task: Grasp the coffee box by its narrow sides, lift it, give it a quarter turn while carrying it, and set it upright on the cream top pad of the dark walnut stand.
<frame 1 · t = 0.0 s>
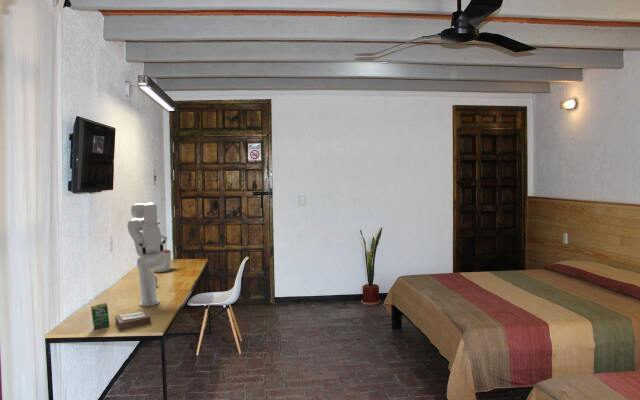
hand: (153, 252, 277), 37 cm above the table, tool pointing down, fingers open, 9 cm apart
canister: (161, 271, 400), on the table
game controller: (152, 289, 339), on the table
stand: (133, 323, 261), on the table
coffee box: (101, 328, 256), on the table
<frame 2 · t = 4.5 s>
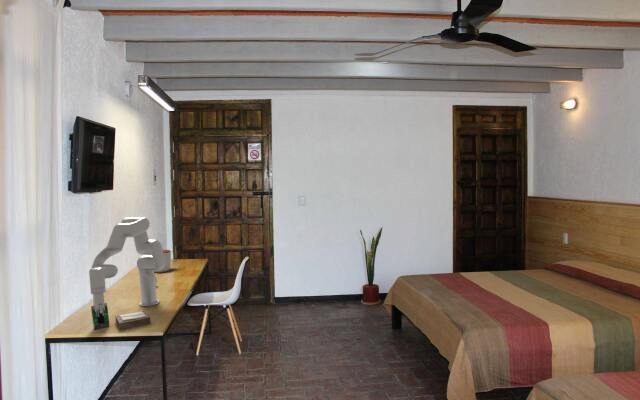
hand: (100, 322, 256), 3 cm above the table, tool pointing down, fingers closed on coffee box, 3 cm apart
coffee box: (101, 328, 256), on the table, touching gripper
everything else where it was.
when the fingers open (9 cm above the table, at t = 11.0 s): coffee box stays where it is, resting on stand.
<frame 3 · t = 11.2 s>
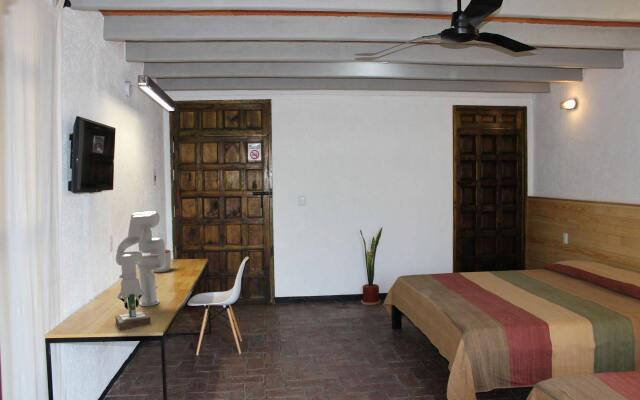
hand: (131, 307, 260), 9 cm above the table, tool pointing down, fingers open, 4 cm apart
coffee box: (132, 315, 261), point 4 cm above the table, touching stand
everything else where it was.
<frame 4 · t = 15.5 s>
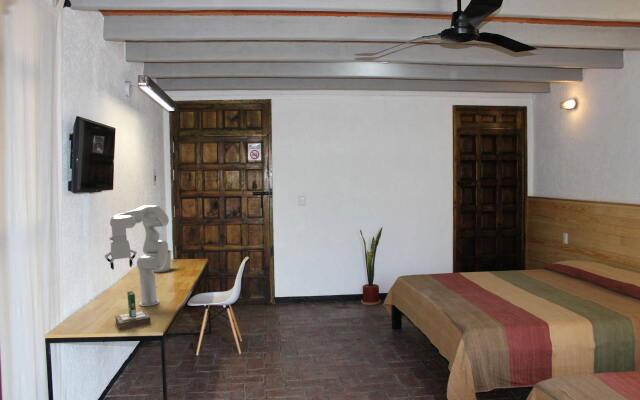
hand: (121, 267, 268), 30 cm above the table, tool pointing down, fingers open, 9 cm apart
at the end: coffee box inside the target area on the stand (0.2 cm from its centre), point 4.4 cm above the stand's base; coffee box tilted 0°; the gripper is holding nothing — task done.
